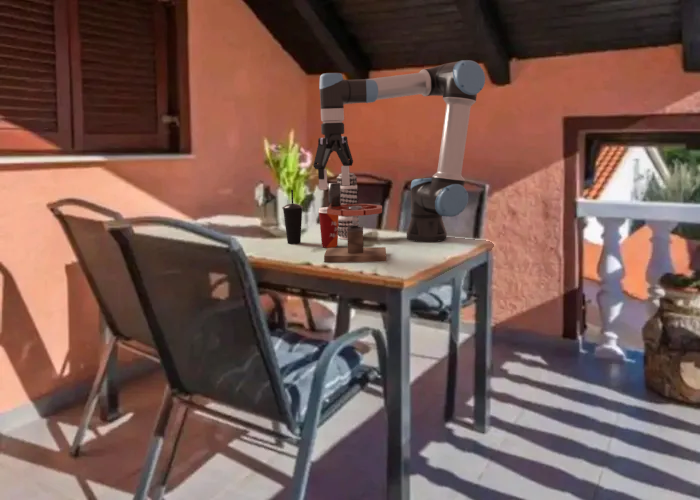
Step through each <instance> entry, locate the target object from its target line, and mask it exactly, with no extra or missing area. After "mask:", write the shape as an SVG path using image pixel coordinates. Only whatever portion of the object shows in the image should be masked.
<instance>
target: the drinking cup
mask: <svg viewBox="0 0 700 500" xmlns="http://www.w3.org/2000/svg"><path fill="white" fill-rule="evenodd" d="M290 194H291V197H290V198H291V199H290V200H291V203H288V204H286V205H283V206H282V207H281V208H282V210H283V217H284V226H285V233H286V241H287V244H289V245H298V244H301V242H302V241H301V239H302V237H301V236H302V223H303V222H302V220H303V209H304V206H303V205H300V204H298V203H294V189H290Z"/></svg>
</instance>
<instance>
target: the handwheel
mask: <svg viewBox="0 0 700 500" xmlns="http://www.w3.org/2000/svg"><path fill="white" fill-rule="evenodd" d="M327 190H328V206H327V207H328V208H327V214H332V215H340V216H342V215H343V216H352V220H351V221H352V226H353V228H358V225H359V226H360V223H359V222H360V219H359V216H362V217H363V216H371V215H372V216H373V215H378V214H382V213H383V205H380V204H375V203H359V204H342V205H341V188H340V183H337V182H329V183H328V182H327ZM358 221H359V222H358Z"/></svg>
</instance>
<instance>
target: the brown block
mask: <svg viewBox="0 0 700 500" xmlns="http://www.w3.org/2000/svg"><path fill="white" fill-rule="evenodd" d="M347 235H348V240H347V247H334V248H325V253H324V257H323V262H324V263H351V262H352V263H355V262H356V263H363V262H364V263H365V262H367V263H368V262H370V263H371V262H387V249H386V247H385V246H379V247H376V246H375V247H364V227H363V226H360V225H359V226H358V228H353V227H348V229H347Z"/></svg>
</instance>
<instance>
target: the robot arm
mask: <svg viewBox="0 0 700 500" xmlns="http://www.w3.org/2000/svg"><path fill="white" fill-rule="evenodd" d="M485 84H486V75H485V71H484V69H483V68H482V67H481V65H480V64H479V63H478V62H476V61H474V60H470V59H469V60H468V59H466V60H465V59H464V60H463V59H462V60H459V61H453V62H447V63H444V64H441V65H437V66H433V67H430V68H429V67H428V68H423V69H421V70H420V71H419V72H414V73H406V74H399V75H398V74H397V75H392V76H391V75H390V76H383V77H374V78H365V79H362V78H361V79H345V78H344V77H343V73H340V72H326V73H322V74H321V75H319V85H318V86H319V88H318V89H319V99H320V100H319V101H320V121H321V122H322V123H321V124H320V126H321V127H320V128H321V129H320V130H321V135H324V137H319V138H318V139H317V142H318V143H317V148H316V153H315V157H314V161H313V168H314V169H315V170H317V173H318V174H317V178H318V190H325V191H326V190H328V170H327V169H326V167H327V164H328V162H329V159H330V158H331V157H330V156H331V154H332V153H333V152H335V153H336V154H337V156H338V158H339V161H340V163H341V164H342V165H341V168H340V169H341V174H342V185H350V177H349V174H350V173H351V172H350V166H353V163H354V160H353V156H352V153H351V149H350V146H349V143H348V142H349V141H348V137H347V136H344V134H345V124H344V120H345V112H344V111H345V109H344V107H345V106H344V105H351V104H353V105H354V104H368V103H370V104H371V103H375V102H376V101H379V100H386V99H394V98H402V97H410V96H411V97H412V96H416V95H422V96H423V97H431V96H435V97H436V96H437V97H440V96H441V97H442V100H443V101H444V103H445V110H444V111H445V113H444V119H443V127H442V132H441V133H442V134H441V141H440V150H439V157H438V161H437V162H438V165H437V170H436V172H435V173H434V174H433V175H432V177H425V178H415V179H413V180H411V183H410V221H409V224H408V228H407V231H406V240H407V241H412V242H418V243H431V242H434V243H436V242H441V241H445V240H447V230H446V227H445V223H444V220H443V217H446V218H447V217H456V216H459V215H460V214H462V212H463V211H464V210H465V209H466V208H467V206H468V203H469V193H468V191H467V189H466V188H465V184H466V183H465V181H466V179H465V178H464V177H463V176H462V172H463V165H464V157H465V151H466V143H467V136H468V128H469V122H470V115H471V107H472V106H473V105H474V104H475V103H477V97H478V96H477V95H478V94H479V93H480V92H481V91H483V89H484V87H485ZM342 135H343V136H342Z"/></svg>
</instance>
